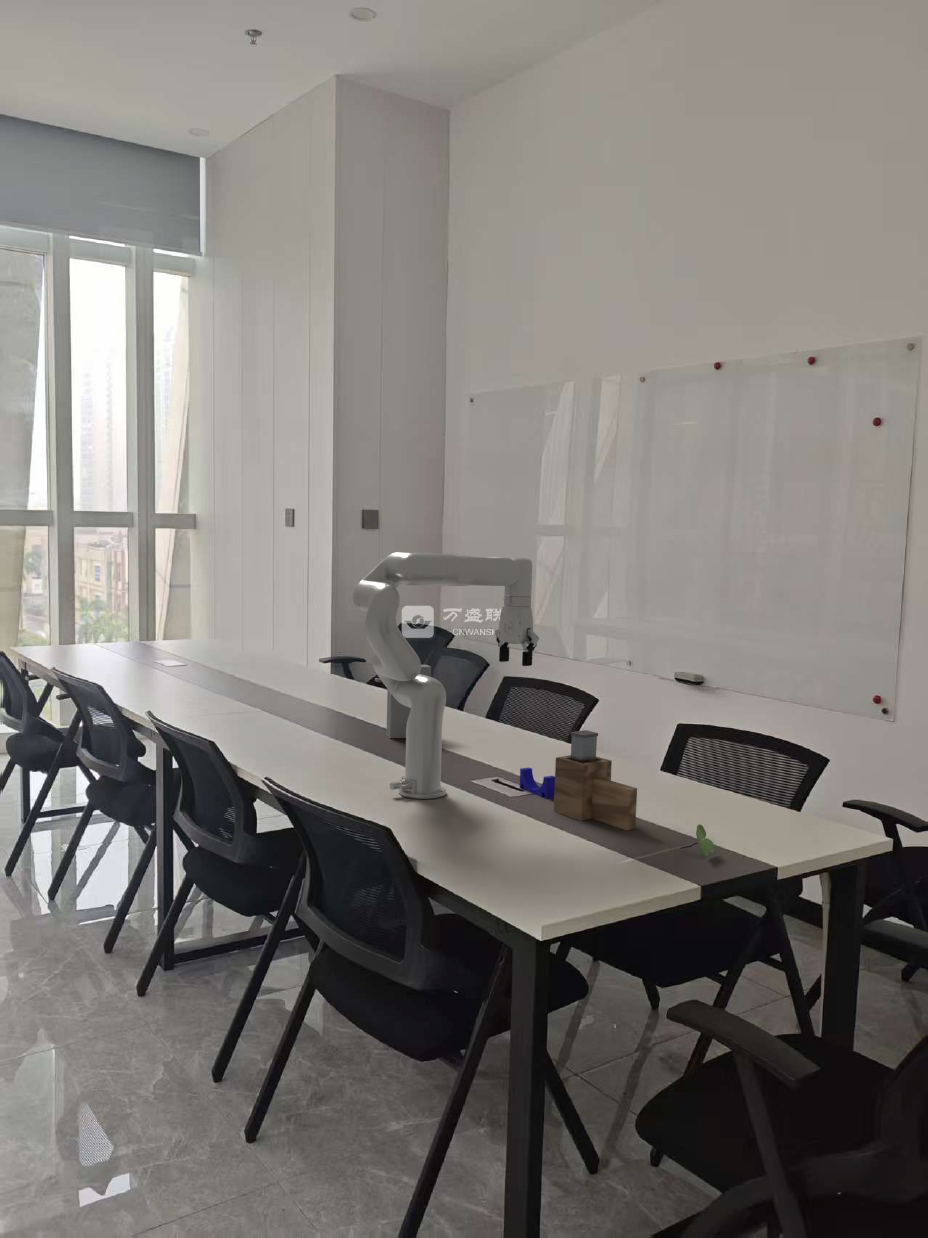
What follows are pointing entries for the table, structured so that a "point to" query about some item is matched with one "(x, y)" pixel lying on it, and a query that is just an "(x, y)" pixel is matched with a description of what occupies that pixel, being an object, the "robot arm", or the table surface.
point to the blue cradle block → (531, 786)
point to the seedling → (703, 841)
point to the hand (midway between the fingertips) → (515, 663)
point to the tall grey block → (400, 712)
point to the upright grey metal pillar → (583, 746)
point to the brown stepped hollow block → (593, 793)
